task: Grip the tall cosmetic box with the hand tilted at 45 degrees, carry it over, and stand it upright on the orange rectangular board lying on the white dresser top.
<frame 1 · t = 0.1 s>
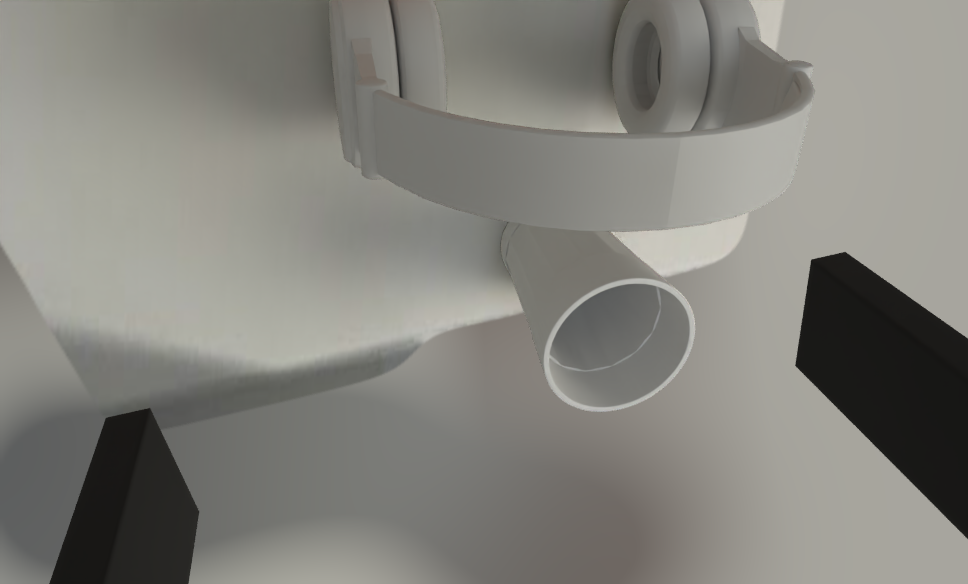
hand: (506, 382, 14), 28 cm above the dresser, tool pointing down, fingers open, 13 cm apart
cup: (548, 240, 46), on the dresser
headphones: (516, 51, 39), on the dresser
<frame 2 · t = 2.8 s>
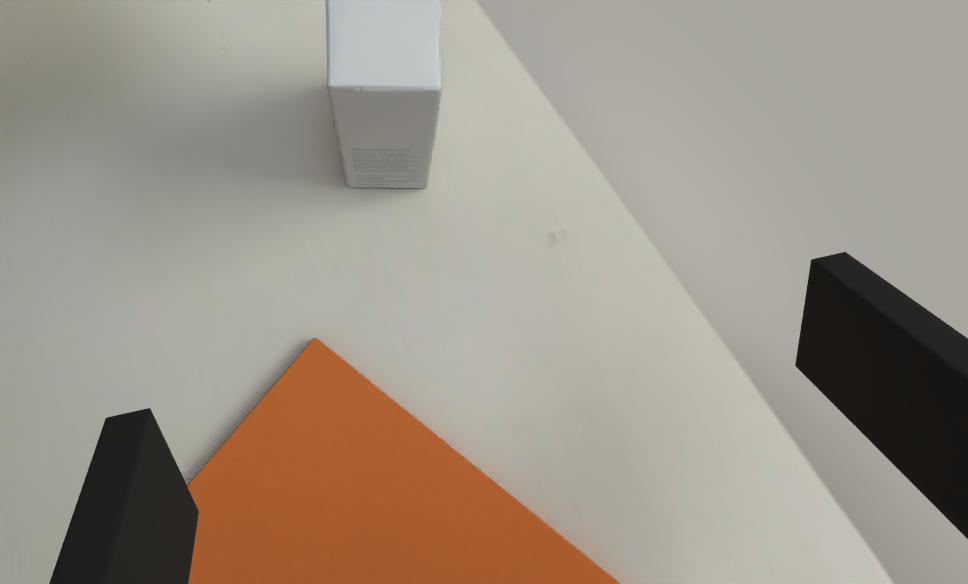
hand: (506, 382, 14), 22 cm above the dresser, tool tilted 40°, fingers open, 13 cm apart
cosmetic box: (386, 137, 37), on the dresser
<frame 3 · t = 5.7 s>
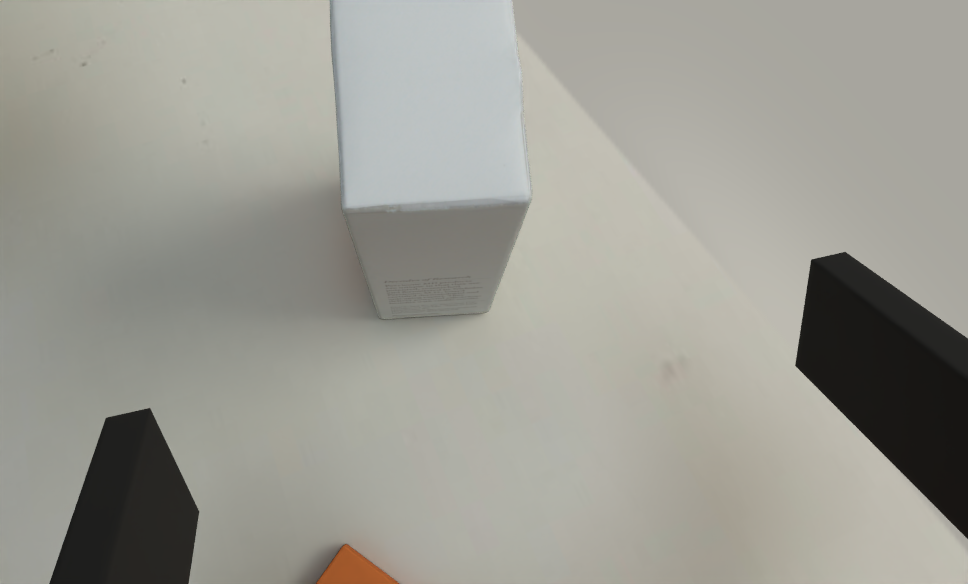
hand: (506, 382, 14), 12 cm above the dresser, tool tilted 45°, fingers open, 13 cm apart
cosmetic box: (428, 245, 27), on the dresser
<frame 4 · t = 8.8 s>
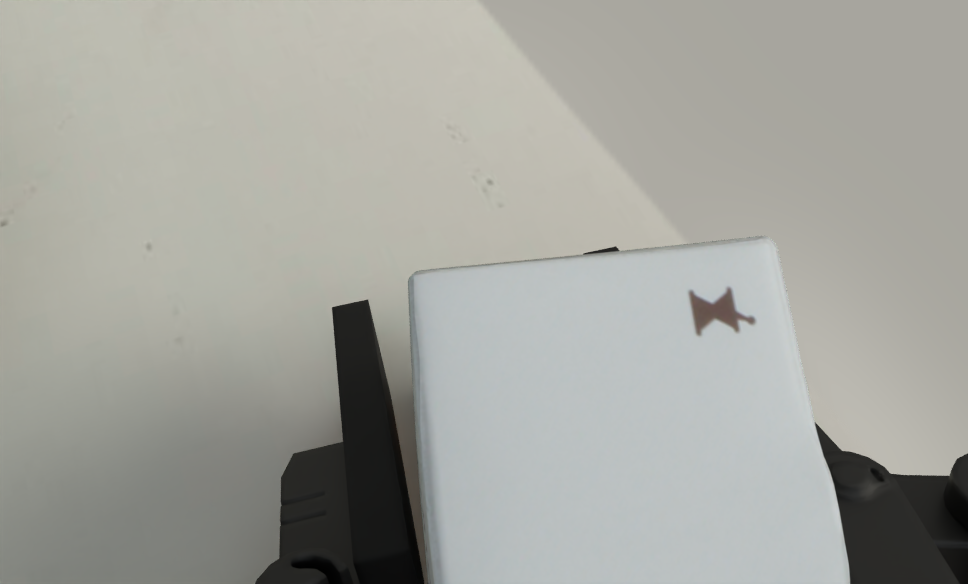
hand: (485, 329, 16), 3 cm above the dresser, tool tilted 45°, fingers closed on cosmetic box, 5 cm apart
cosmetic box: (504, 495, 19), on the dresser, touching gripper
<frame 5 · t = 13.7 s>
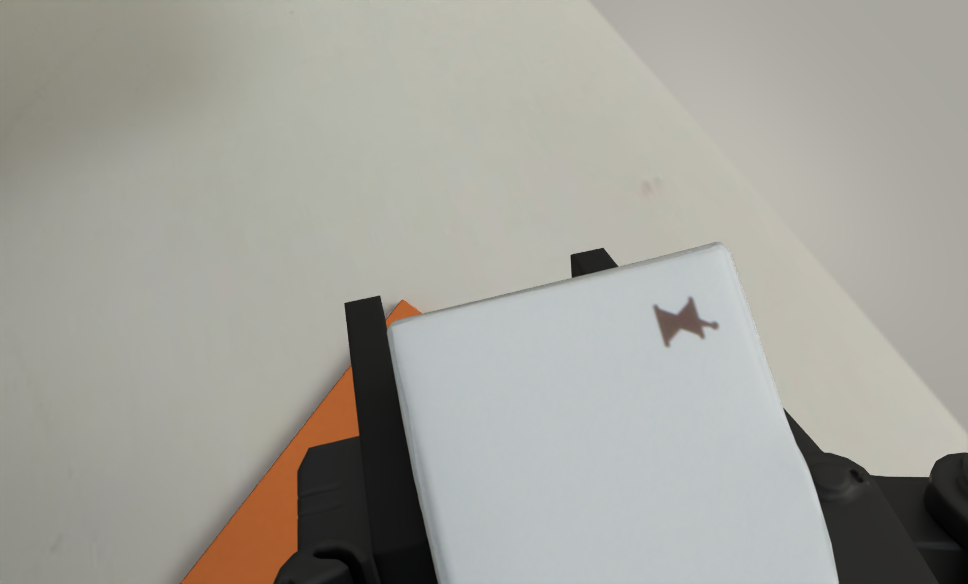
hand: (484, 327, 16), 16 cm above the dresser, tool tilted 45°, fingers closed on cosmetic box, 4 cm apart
cosmetic box: (506, 495, 19), point 12 cm above the dresser, touching gripper
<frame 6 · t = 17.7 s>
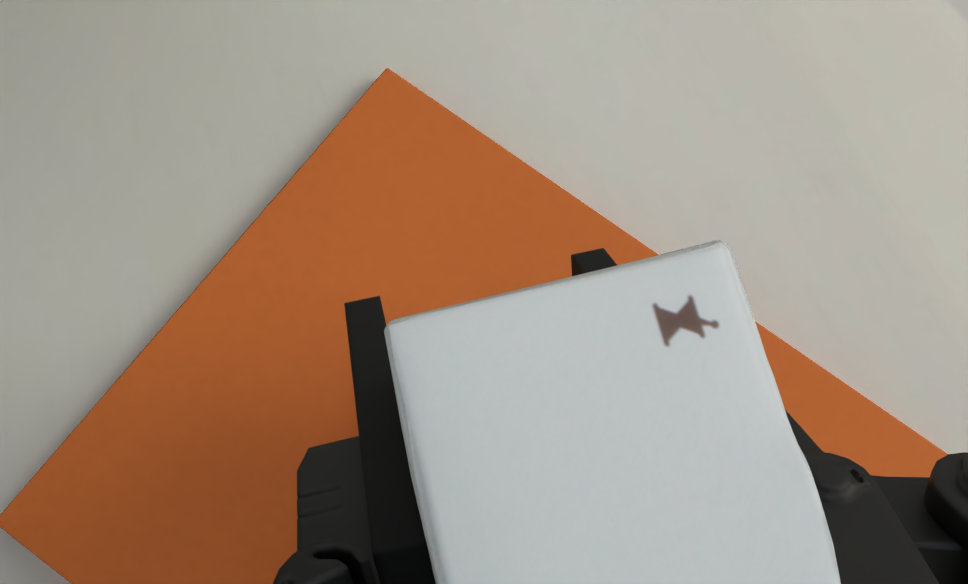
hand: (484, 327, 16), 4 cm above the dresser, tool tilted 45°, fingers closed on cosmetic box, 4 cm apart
orange rectangular board: (503, 490, 19), on the dresser
cosmetic box: (507, 497, 19), resting on orange rectangular board, touching gripper
when the fingers open (4 cm above the dresser, at t = 17.7 s): cosmetic box stays where it is, resting on orange rectangular board.
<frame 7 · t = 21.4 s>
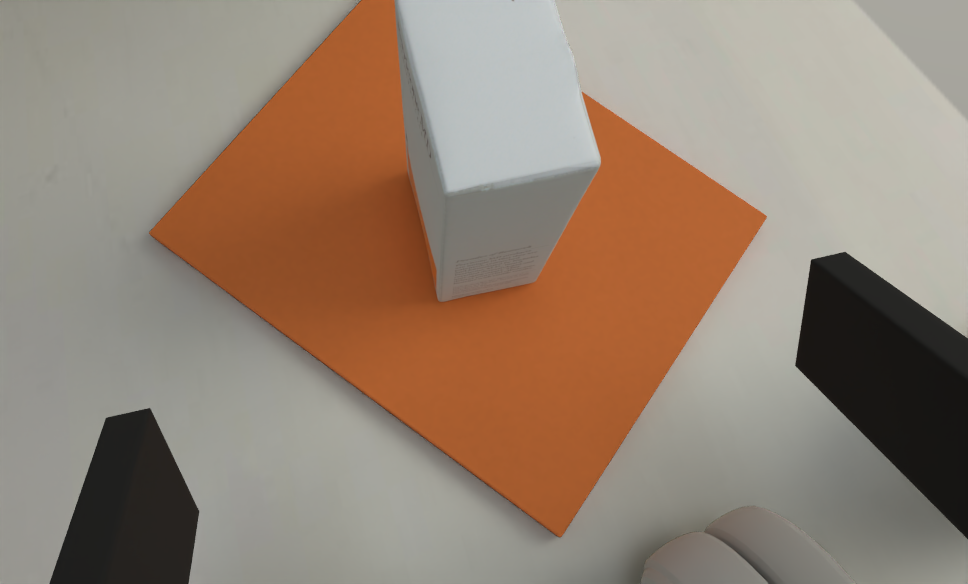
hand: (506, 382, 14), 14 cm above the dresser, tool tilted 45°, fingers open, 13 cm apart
orange rectangular board: (468, 228, 30), on the dresser
cosmetic box: (470, 229, 30), resting on orange rectangular board
headphones: (870, 518, 29), on the dresser
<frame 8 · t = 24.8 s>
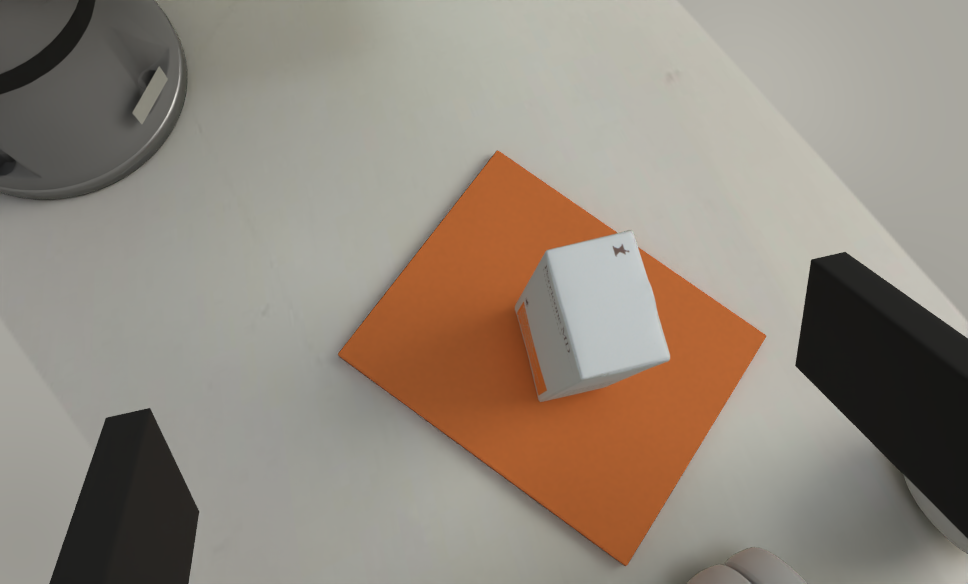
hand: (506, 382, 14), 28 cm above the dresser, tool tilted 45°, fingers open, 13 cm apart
orange rectangular board: (556, 346, 43), on the dresser
cosmetic box: (558, 348, 42), resting on orange rectangular board
headphones: (837, 550, 41), on the dresser
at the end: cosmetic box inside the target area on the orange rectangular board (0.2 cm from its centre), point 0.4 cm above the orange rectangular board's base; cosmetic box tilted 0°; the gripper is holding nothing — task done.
